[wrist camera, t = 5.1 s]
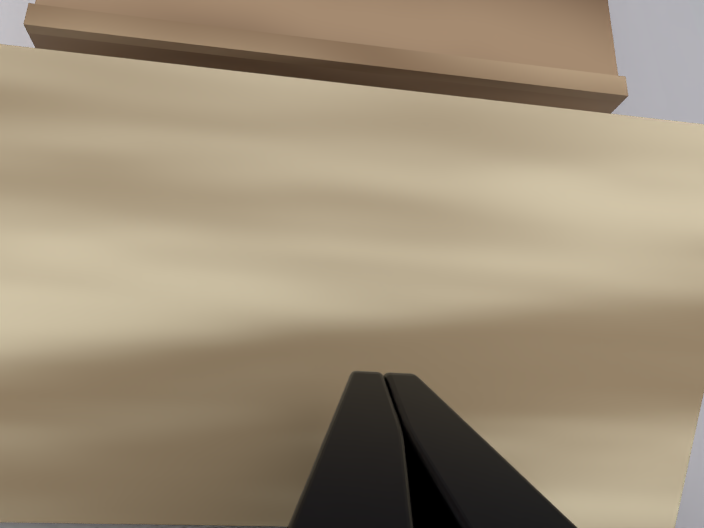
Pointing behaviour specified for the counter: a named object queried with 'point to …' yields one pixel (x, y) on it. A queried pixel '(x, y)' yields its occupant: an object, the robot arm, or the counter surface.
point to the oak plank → (332, 287)
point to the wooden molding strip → (363, 43)
